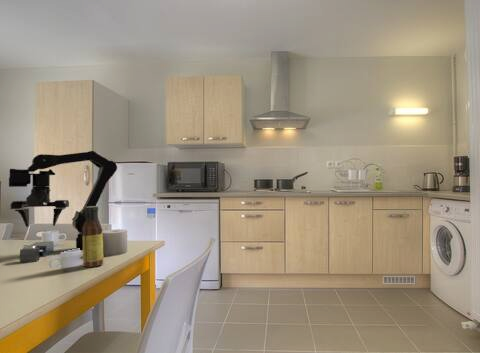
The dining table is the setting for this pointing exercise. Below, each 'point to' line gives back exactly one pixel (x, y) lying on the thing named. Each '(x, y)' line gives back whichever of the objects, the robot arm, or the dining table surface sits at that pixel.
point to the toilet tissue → (114, 242)
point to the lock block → (45, 247)
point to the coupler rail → (30, 254)
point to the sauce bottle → (92, 238)
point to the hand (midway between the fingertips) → (40, 226)
